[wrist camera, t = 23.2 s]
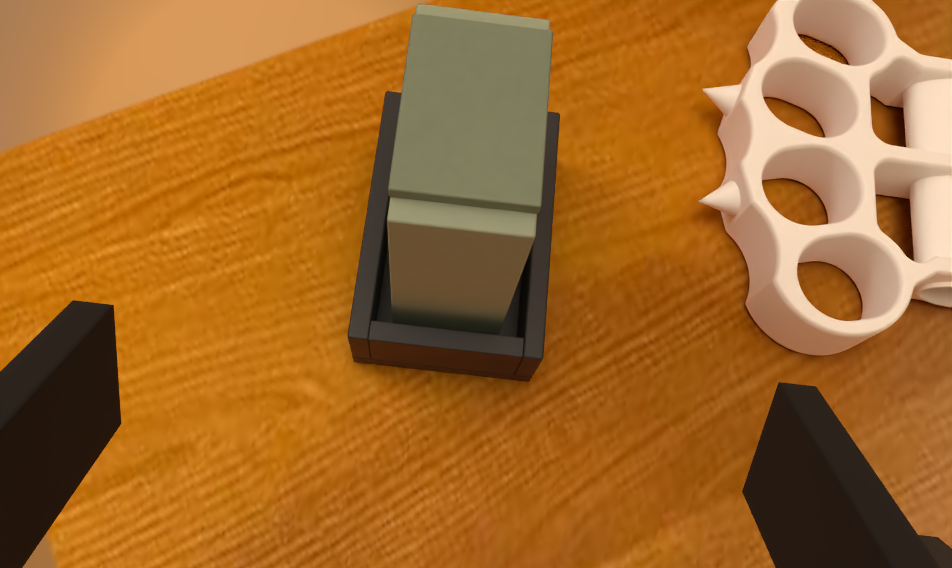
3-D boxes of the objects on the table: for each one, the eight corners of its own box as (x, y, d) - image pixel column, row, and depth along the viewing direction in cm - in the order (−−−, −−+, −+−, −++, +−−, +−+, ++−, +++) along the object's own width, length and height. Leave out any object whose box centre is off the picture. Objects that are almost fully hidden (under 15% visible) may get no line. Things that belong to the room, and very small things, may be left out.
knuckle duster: (1000, 383, 37) (681, 338, 37) (966, 51, 43) (693, 8, 43) (1055, 364, 34) (707, 315, 33) (1010, 9, 40) (716, -37, 40)
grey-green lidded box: (391, 327, 35) (384, 213, 24) (412, 160, 38) (415, -8, 27) (498, 338, 35) (539, 231, 24) (512, 172, 38) (554, 9, 27)
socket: (353, 362, 35) (347, 337, 31) (387, 135, 39) (385, 90, 35) (529, 382, 35) (543, 359, 32) (546, 155, 39) (560, 112, 36)
